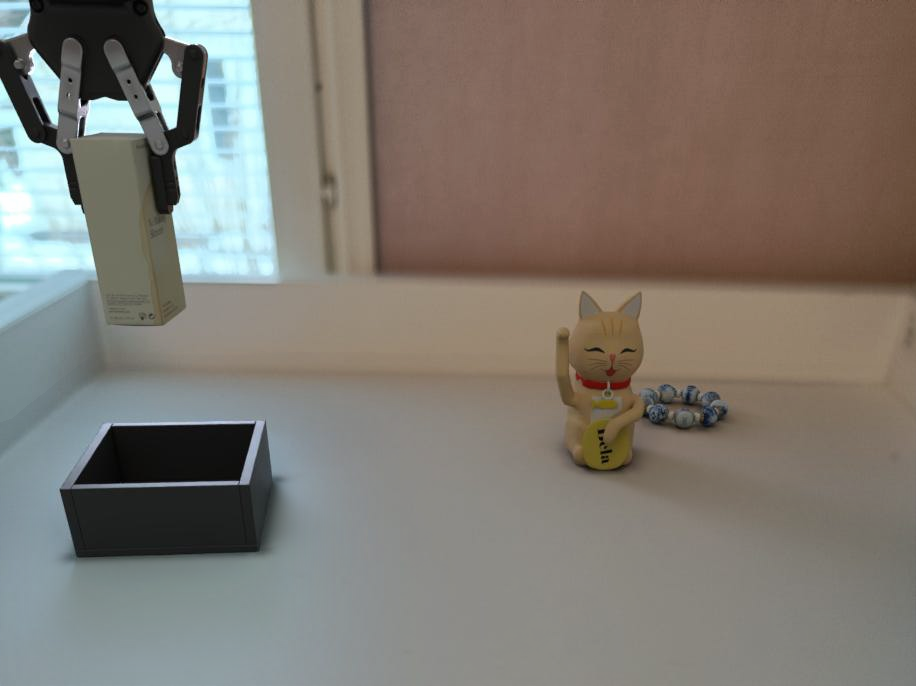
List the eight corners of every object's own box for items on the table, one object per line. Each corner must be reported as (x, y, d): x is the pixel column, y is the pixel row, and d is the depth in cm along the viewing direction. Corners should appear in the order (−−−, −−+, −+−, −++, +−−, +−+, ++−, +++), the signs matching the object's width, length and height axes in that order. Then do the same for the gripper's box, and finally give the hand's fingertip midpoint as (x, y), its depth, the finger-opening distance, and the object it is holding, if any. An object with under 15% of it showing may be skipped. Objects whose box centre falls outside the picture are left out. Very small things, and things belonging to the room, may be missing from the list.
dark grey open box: (76, 557, 69) (58, 489, 66) (116, 484, 80) (103, 423, 77) (258, 551, 70) (249, 484, 67) (272, 480, 82) (265, 420, 79)
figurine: (553, 475, 84) (565, 307, 76) (543, 436, 92) (553, 281, 84) (645, 475, 84) (666, 308, 76) (627, 437, 92) (645, 282, 84)
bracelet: (621, 419, 97) (623, 401, 95) (650, 393, 104) (652, 376, 103) (712, 436, 93) (715, 417, 92) (735, 408, 100) (738, 390, 99)
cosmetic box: (164, 328, 66) (133, 140, 60) (103, 326, 66) (66, 137, 60) (188, 307, 72) (162, 131, 65) (131, 305, 72) (100, 129, 65)
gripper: (203, -81, 59) (236, 205, 69) (-27, -90, 58) (39, 204, 67) (185, -95, 53) (224, 222, 63) (-73, -105, 52) (7, 221, 61)
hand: (128, 211), depth 65 cm, fingers closed on cosmetic box, 4 cm apart
